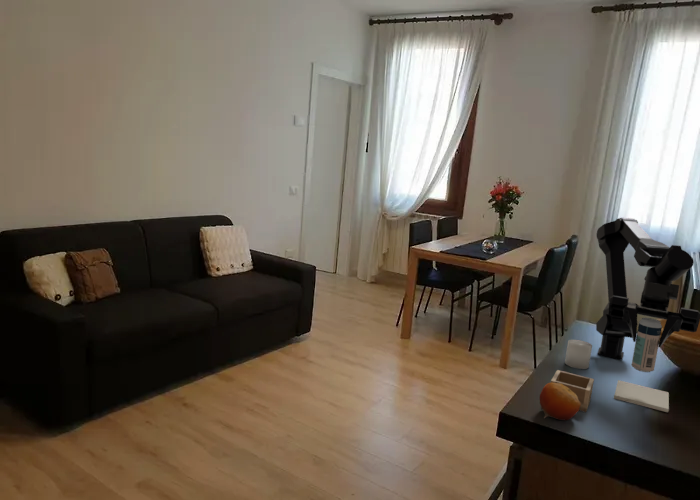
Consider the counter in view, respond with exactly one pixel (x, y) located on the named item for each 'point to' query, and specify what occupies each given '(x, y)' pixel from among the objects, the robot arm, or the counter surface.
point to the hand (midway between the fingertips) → (646, 343)
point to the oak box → (576, 386)
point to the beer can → (646, 344)
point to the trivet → (642, 396)
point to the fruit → (559, 401)
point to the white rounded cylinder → (578, 354)
